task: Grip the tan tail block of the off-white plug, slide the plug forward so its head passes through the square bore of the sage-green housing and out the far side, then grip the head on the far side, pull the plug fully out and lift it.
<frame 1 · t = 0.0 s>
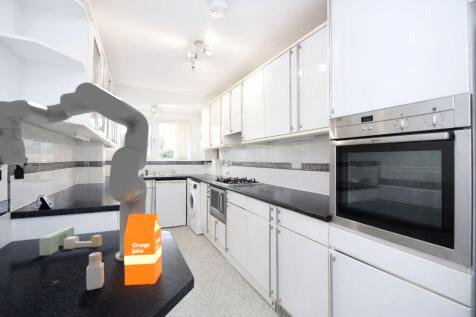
hand: (8, 180, 87), 31 cm above the countertop, tool pointing down, fingers open, 9 cm apart
salt shaker: (95, 287, 67), on the countertop
orange juice: (144, 278, 72), on the countertop
plug: (71, 247, 101), on the countertop
housing: (58, 248, 101), on the countertop
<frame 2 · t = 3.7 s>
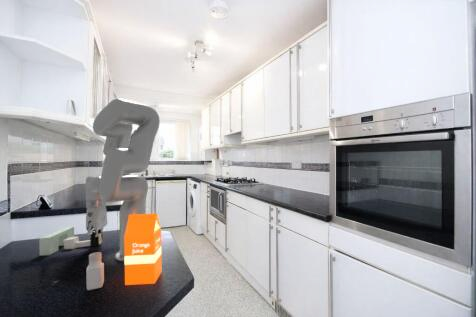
hand: (96, 244, 102), 1 cm above the countertop, tool pointing down, fingers closed on plug, 2 cm apart
plug: (72, 247, 101), on the countertop, tilted 5°, touching gripper
everything else where it was.
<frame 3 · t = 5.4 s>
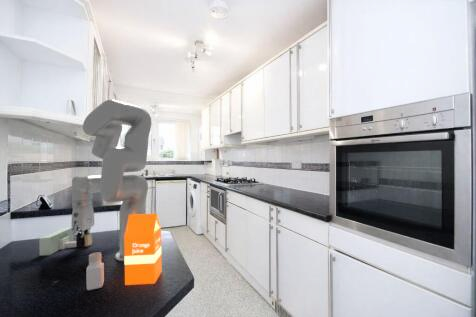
hand: (82, 244, 102), 1 cm above the countertop, tool pointing down, fingers closed on plug, 2 cm apart
plug: (61, 247, 101), on the countertop, touching gripper
everything else where it was.
when the fingers open (1 cm above the countertop, at t = 7.0 s): plug stays where it is, on the countertop.
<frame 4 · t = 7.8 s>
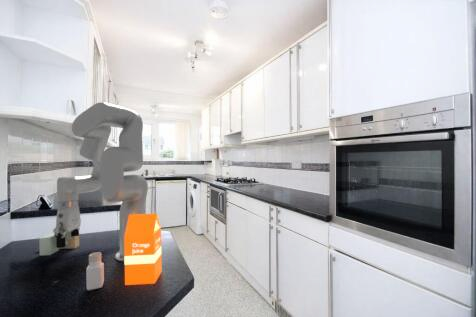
hand: (68, 243, 101), 2 cm above the countertop, tool pointing down, fingers open, 9 cm apart
plug: (48, 248, 100), on the countertop
everything else where it was.
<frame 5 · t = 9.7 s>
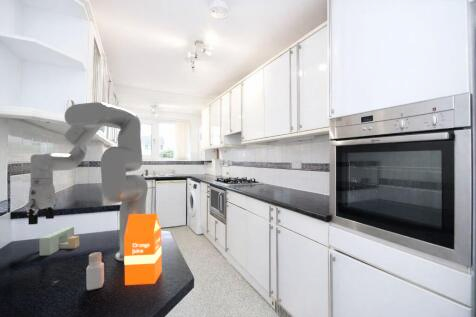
hand: (41, 221, 100), 12 cm above the countertop, tool pointing down, fingers open, 9 cm apart
nothing on the countertop moved.
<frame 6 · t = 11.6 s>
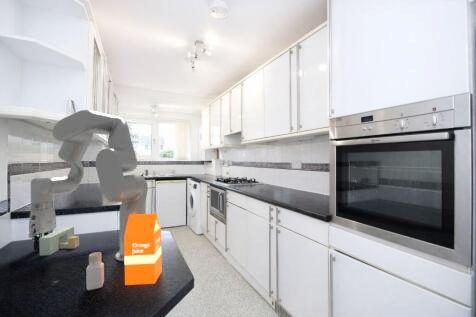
hand: (42, 247, 100), 1 cm above the countertop, tool pointing down, fingers closed on plug, 4 cm apart
plug: (47, 248, 100), on the countertop, touching gripper
everything else where it was.
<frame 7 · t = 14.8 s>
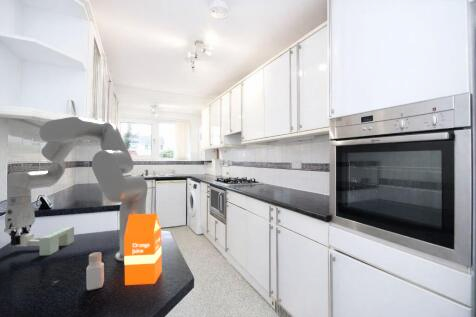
hand: (20, 242, 99), 3 cm above the countertop, tool pointing down, fingers closed on plug, 4 cm apart
plug: (24, 244, 99), point 2 cm above the countertop, tilted 6°, touching gripper, housing
everything else where it was.
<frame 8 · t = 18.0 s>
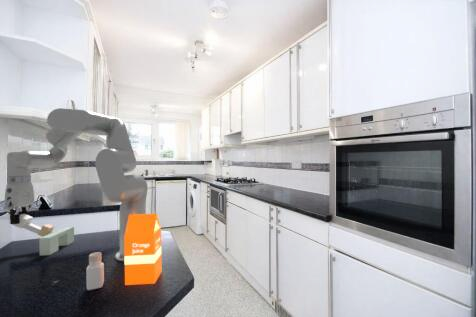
hand: (19, 222, 99), 12 cm above the countertop, tool pointing down, fingers closed on plug, 4 cm apart
plug: (20, 225, 99), point 11 cm above the countertop, tilted 27°, touching gripper
everything else where it was.
at the end: plug inside the target area on the housing (1.9 cm from its centre), point 10.8 cm above the housing's base; the gripper is holding plug; plug touching gripper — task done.
